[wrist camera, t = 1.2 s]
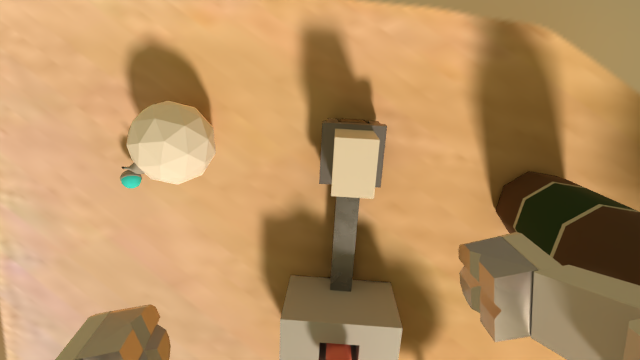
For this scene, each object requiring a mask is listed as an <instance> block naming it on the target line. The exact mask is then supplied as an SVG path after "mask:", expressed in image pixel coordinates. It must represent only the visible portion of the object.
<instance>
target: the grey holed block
mask: <svg viewBox="0 0 640 360" xmlns="http://www.w3.org/2000/svg"><path fill="white" fill-rule="evenodd" d="M402 330H403V327H402V324H401V320H400V316H399V312H398V308H397V305H396V301H395V297H394V293H393V290H392V286H391V282H379V281H365V280H352V289H351V292H348V291H334V290H330V278H322V277H308V276H294V275H291V276H290V280H289V284H288V289H287V293H286V297H285V302H284V306H283V310H282V315H281V319H280V359H279V360H326V343H333V344H347V345H351V358H352V360H398V358H399V351H400V344H401V337H402Z"/></svg>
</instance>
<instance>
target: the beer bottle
mask: <svg viewBox="0 0 640 360" xmlns="http://www.w3.org/2000/svg"><path fill="white" fill-rule="evenodd" d="M496 212H497V214H498V216H499V217H500V219H501V220H502V222H503V224H504V225H505V227H506V229H507V230H508V232H509V233H515V232H518V233H522V234H523V235H524V236H525V237H527V238H528V239H529V240H530V241H532V242H533V243H534V244H536V245H537V246H538V247H539V248H541V249H542V250H543V251H544V252H546V253H547V254H548V255H549V256H551V257H552V258H553V259H555V260H556V261H557V262H558V263H560V264H561V265H562V266H565V265H572V266H575V267H578V268H582V269H585V270H589V271H592V272H595V273H599V274H602V275H605V276H609V277H612V278H616V279H619V280H622V281H626V282H629V283H633V284H636V285H639V286H640V212H639V211H636V210H634V209H632V208H629V207H627V206H625V205H623V204H620V203H618V202H616V201H614V200H611V199H609V198H607V197H605V196H602V195H600V194H598V193H596V192H593V191H591V190H589V189H587V188H584V187H582V186H580V185H578V184H575V183H573V182H571V181H568V180H566V179H563V178H560V177H557V176H552V175H546V174H541V173H535V172H527V173H526V174H524V175H522V176H520V177H519V178H517V179H515V180H514V181H512V182H510V183H509V184H507V185H505V186H504V188H503V191H502V194H501V197H500V199H499V202H498V205H497V208H496Z"/></svg>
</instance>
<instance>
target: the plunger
mask: <svg viewBox="0 0 640 360" xmlns="http://www.w3.org/2000/svg"><path fill="white" fill-rule="evenodd" d="M326 360H352V358H351V345H347V344H333V343H326Z"/></svg>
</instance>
